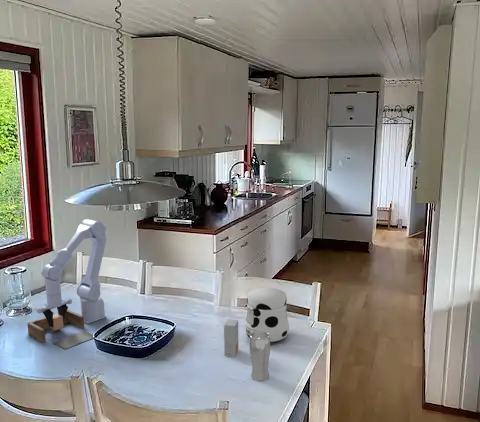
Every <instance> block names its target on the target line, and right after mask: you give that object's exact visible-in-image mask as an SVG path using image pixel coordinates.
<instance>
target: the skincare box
mask: <svg viewBox="0 0 480 422" xmlns="http://www.w3.org/2000/svg"><path fill="white" fill-rule="evenodd" d="M223 337H224V338H223V342H224V343H223V346H224V347H223V348H224V349H223V350H224V352H223V353H224V355H223V356H225V357H235V358H236V356H237V353H238V351H239V320H238V319H230V318H229V319H227V320H226V322H225V323H224V325H223Z"/></svg>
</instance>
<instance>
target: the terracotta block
mask: <svg viewBox="0 0 480 422" xmlns="http://www.w3.org/2000/svg"><path fill="white" fill-rule="evenodd" d="M54 314H55V315H54ZM54 314H53V327H50V326H49V327H50V329H51V330H53V331H57V330H60V329H62V328H64V324H63V316H61V315H59V314H57V313H54Z"/></svg>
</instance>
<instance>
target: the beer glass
mask: <svg viewBox="0 0 480 422" xmlns="http://www.w3.org/2000/svg"><path fill="white" fill-rule="evenodd" d="M249 354H250V360H251V361H250V362H251V367H252V368H251V374H250V375H251V376H250V377H251V379H252V380H254V381H256V382H264V381H267V380H268V379H269V378H270V373H269V362H270V355H271V343H270V334H269V333H268V332H265V331H254V332H252V333H251V334H250V338H249Z"/></svg>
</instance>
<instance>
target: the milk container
mask: <svg viewBox="0 0 480 422" xmlns="http://www.w3.org/2000/svg"><path fill="white" fill-rule="evenodd" d="M287 302H288V301H287V293H286V292H285V291H284V290H282V289H278V288H274V287H273V288H272V287H261V288H260V287H259V288H255V289H252V290H250V291H249V292H248V293H247V297H246V303H247V304H246V310H247V315H246V320H245V324H244V329H245V334H246V335H247V337H248V338H249V339H250V334H251V333H252V332H254V331H265V332H268V333H269V334H270V344H273V343H279V342H280V341H283V340H284V339H286V337H287V336H288V334H289V328H290V324H289V319H288V316H287V309H288V308H287V307H288V306H287Z"/></svg>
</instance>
